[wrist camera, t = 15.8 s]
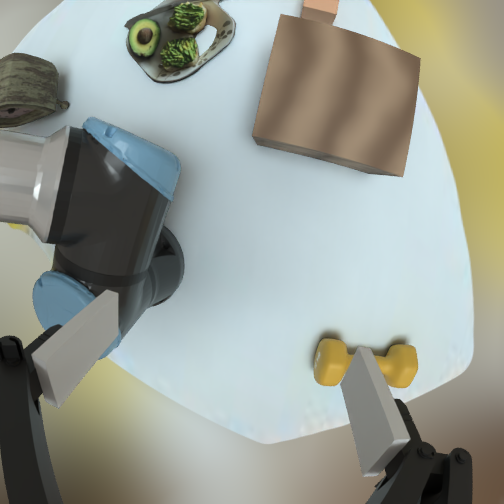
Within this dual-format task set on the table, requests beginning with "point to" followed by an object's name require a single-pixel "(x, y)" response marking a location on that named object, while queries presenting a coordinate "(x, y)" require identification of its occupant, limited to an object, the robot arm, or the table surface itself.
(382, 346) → the table surface
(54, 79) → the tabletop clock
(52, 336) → the robot arm
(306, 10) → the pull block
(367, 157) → the lane shelf
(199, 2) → the avocado toast plate
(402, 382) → the dumbbell
